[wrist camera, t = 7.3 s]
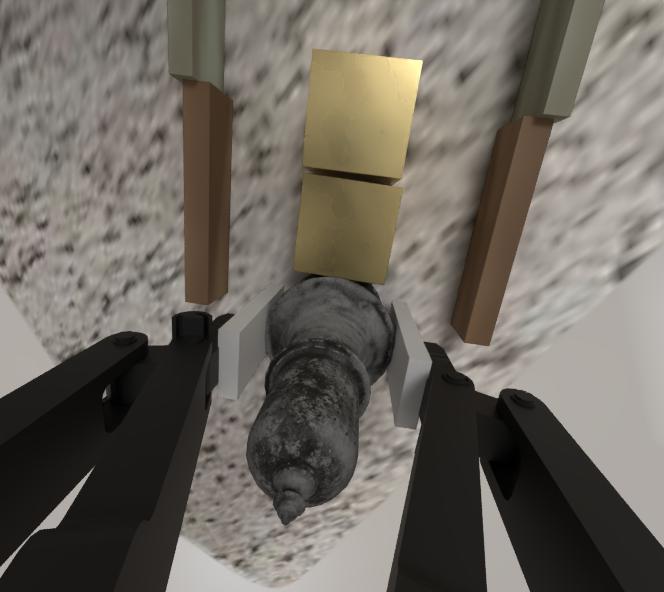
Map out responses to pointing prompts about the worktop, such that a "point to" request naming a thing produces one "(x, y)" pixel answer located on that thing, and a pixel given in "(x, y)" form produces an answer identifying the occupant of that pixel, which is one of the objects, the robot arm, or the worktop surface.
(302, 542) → the worktop surface
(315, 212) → the tan wooden cube
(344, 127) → the chip
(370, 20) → the worktop surface
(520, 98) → the frame
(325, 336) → the salt shaker
